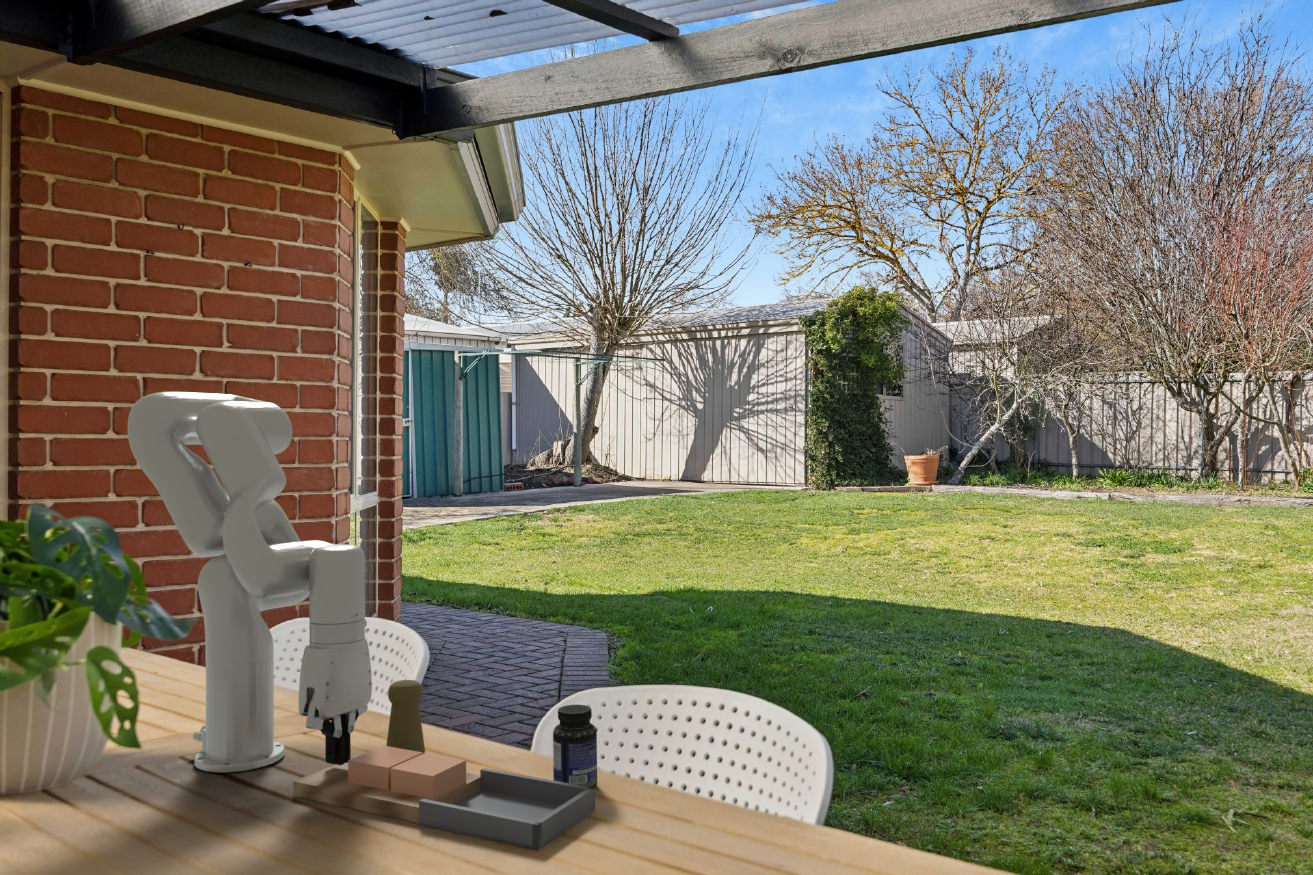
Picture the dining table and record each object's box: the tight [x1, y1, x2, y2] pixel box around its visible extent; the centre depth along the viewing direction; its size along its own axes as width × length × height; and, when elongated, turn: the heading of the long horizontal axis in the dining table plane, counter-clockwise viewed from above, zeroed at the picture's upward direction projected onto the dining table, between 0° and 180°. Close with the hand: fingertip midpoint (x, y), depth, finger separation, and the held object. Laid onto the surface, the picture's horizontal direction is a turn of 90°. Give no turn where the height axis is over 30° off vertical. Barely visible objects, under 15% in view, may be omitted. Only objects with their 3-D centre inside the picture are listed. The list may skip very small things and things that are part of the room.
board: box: [292, 753, 480, 824], centre depth 134 cm, size 22×13×2 cm, turn 64°
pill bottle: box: [552, 704, 598, 789], centre depth 136 cm, size 6×6×11 cm
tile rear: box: [348, 745, 424, 790], centre depth 134 cm, size 7×7×3 cm
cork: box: [385, 679, 426, 754], centre depth 152 cm, size 6×6×11 cm
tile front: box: [391, 752, 467, 799], centre depth 131 cm, size 7×7×3 cm
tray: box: [418, 767, 596, 851], centre depth 125 cm, size 18×14×3 cm
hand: (338, 761), depth 138 cm, fingers closed
